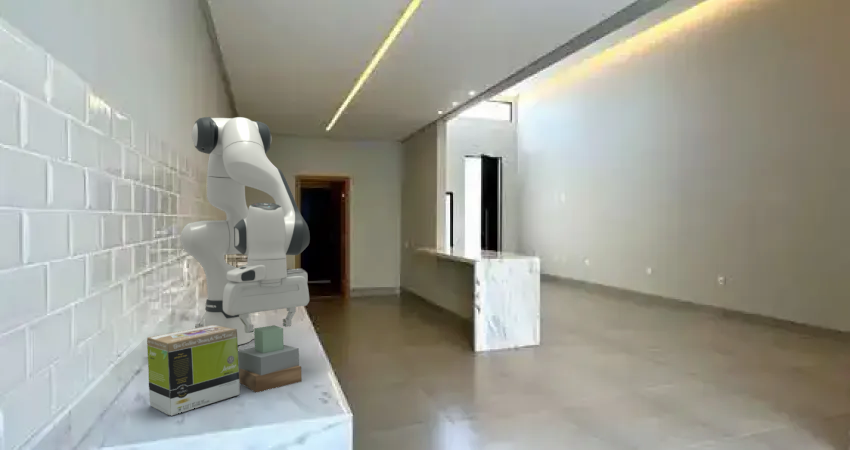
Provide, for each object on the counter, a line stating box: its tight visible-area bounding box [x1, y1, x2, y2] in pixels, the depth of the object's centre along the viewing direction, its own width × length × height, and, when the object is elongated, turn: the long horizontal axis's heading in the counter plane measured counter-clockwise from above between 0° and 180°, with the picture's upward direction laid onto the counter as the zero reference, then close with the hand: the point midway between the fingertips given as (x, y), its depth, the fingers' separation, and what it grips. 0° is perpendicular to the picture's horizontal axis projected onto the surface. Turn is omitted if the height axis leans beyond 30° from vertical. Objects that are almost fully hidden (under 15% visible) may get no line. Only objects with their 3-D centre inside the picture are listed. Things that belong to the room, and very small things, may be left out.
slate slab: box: [238, 344, 300, 375], centre depth 119 cm, size 10×10×4 cm
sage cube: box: [253, 324, 285, 353], centre depth 119 cm, size 5×5×5 cm
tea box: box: [146, 325, 241, 417], centre depth 106 cm, size 15×10×15 cm, turn 141°
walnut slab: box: [239, 364, 303, 393], centre depth 119 cm, size 11×11×4 cm
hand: (268, 329), depth 119 cm, fingers open, 8 cm apart
